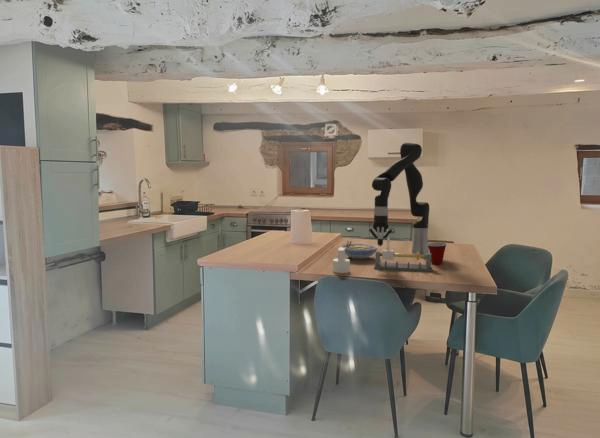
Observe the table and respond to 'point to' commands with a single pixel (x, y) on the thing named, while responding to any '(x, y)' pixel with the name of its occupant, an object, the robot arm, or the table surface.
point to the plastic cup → (437, 252)
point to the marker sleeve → (388, 253)
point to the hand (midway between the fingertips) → (380, 245)
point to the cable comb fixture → (404, 266)
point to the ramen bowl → (359, 250)
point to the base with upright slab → (341, 262)
